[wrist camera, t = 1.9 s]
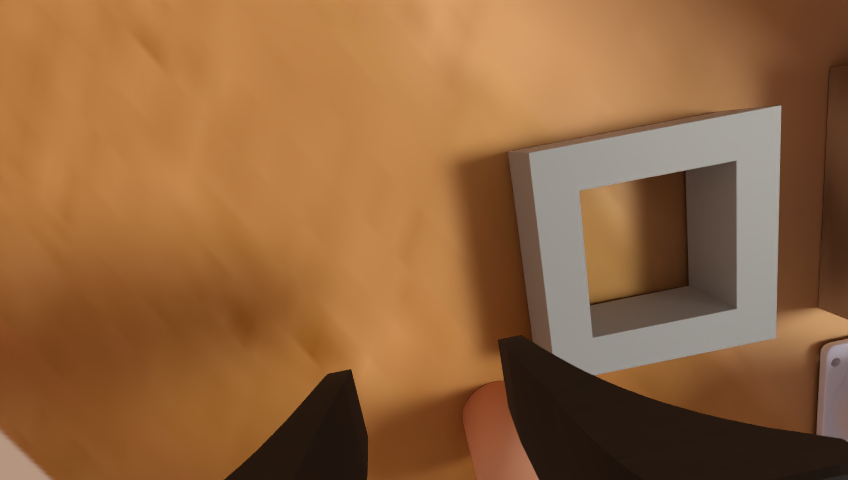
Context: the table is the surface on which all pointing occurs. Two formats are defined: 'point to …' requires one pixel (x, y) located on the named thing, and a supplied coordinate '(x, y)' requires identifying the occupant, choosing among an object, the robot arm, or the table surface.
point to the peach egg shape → (494, 436)
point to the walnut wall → (835, 200)
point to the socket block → (706, 230)
